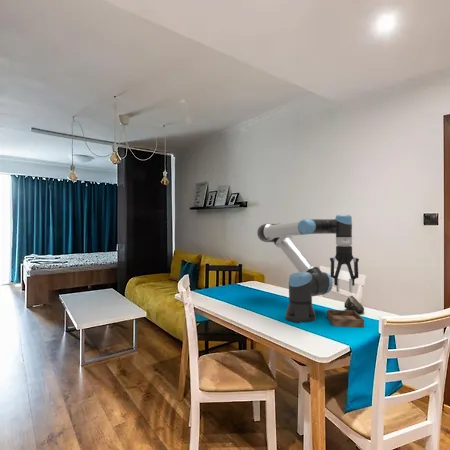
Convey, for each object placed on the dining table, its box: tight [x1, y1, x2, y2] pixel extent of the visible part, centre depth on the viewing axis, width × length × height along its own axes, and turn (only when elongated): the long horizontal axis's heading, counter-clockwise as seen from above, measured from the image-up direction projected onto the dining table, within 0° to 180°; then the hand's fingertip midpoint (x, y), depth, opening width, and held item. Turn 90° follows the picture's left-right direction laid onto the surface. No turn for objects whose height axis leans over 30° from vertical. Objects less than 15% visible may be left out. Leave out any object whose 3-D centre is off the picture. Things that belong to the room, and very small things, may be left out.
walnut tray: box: [326, 309, 365, 328], centre depth 148 cm, size 14×15×4 cm
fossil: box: [343, 295, 365, 313], centre depth 165 cm, size 11×9×10 cm
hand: (344, 292), depth 148 cm, fingers open, 5 cm apart
